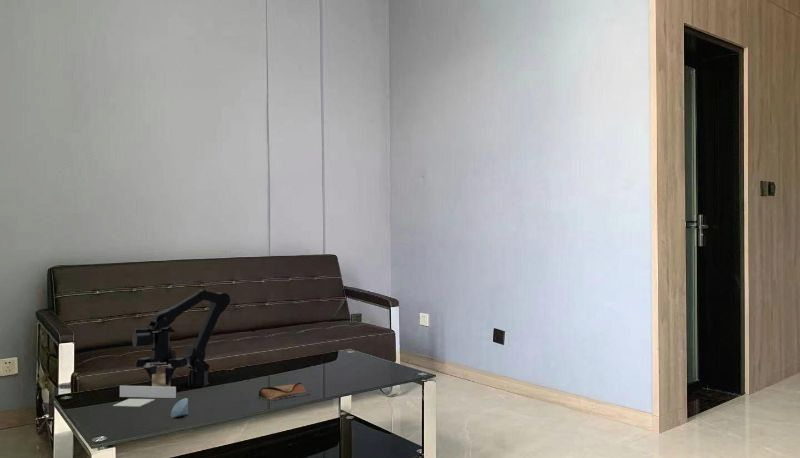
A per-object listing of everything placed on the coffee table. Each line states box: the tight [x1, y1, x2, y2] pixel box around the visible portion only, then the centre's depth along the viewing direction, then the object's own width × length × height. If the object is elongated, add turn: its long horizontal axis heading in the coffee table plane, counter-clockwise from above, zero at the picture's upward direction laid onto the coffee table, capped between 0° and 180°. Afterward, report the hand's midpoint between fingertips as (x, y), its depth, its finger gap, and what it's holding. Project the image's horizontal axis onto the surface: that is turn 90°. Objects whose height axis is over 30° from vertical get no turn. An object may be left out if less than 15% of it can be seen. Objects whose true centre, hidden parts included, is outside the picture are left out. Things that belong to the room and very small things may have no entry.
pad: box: [112, 398, 156, 408], centre depth 223 cm, size 10×10×1 cm
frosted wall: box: [119, 385, 177, 399], centre depth 232 cm, size 22×1×4 cm, turn 82°
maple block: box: [151, 371, 172, 387], centre depth 242 cm, size 5×5×6 cm
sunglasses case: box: [258, 382, 307, 400], centre depth 232 cm, size 18×7×7 cm
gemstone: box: [170, 397, 189, 419], centre depth 205 cm, size 8×8×5 cm
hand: (161, 384), depth 241 cm, fingers closed on maple block, 5 cm apart
